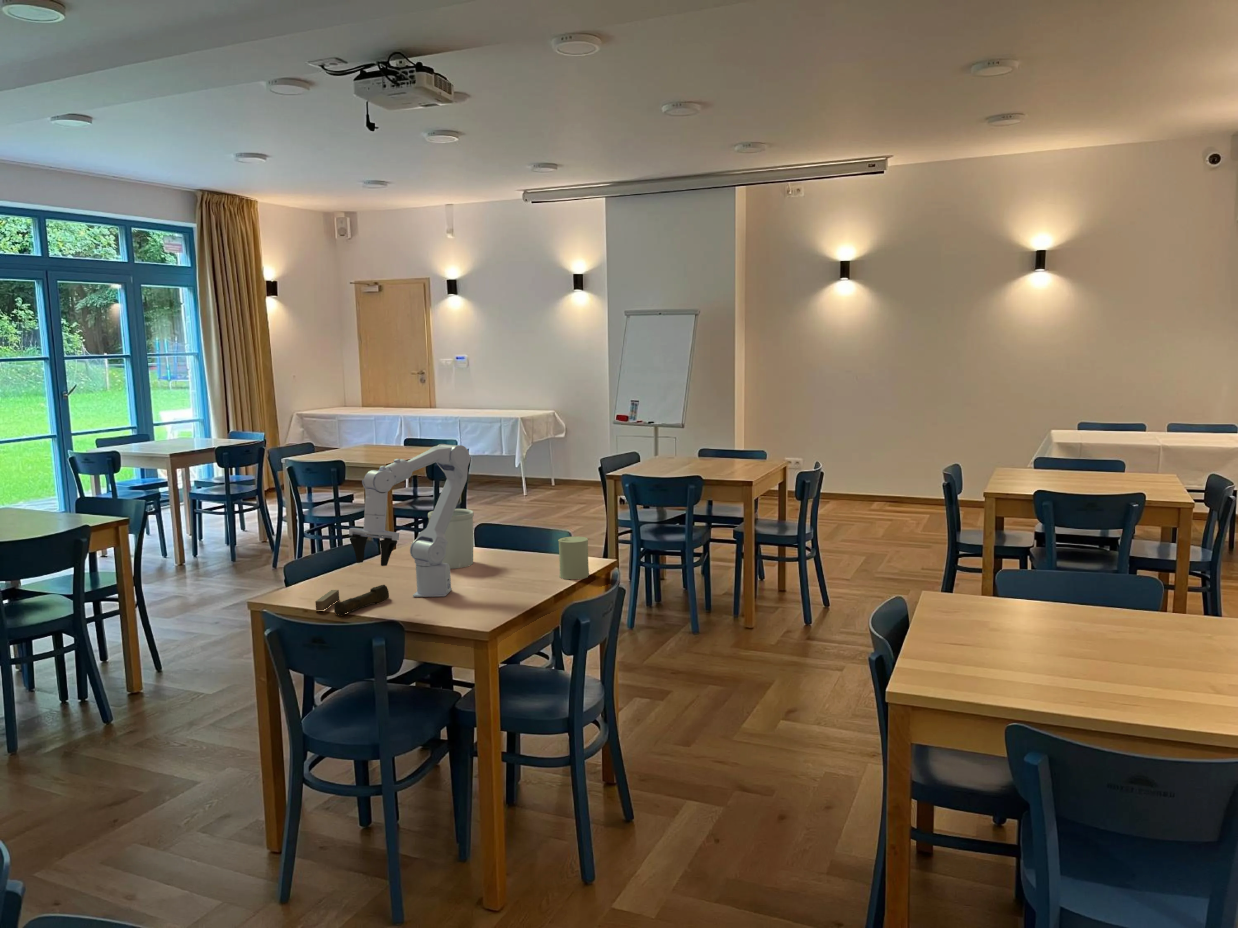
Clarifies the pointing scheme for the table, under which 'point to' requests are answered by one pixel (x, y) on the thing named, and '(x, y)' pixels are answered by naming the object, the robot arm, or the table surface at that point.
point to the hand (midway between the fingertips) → (371, 564)
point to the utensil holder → (459, 539)
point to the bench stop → (327, 600)
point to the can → (573, 557)
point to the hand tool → (362, 600)
